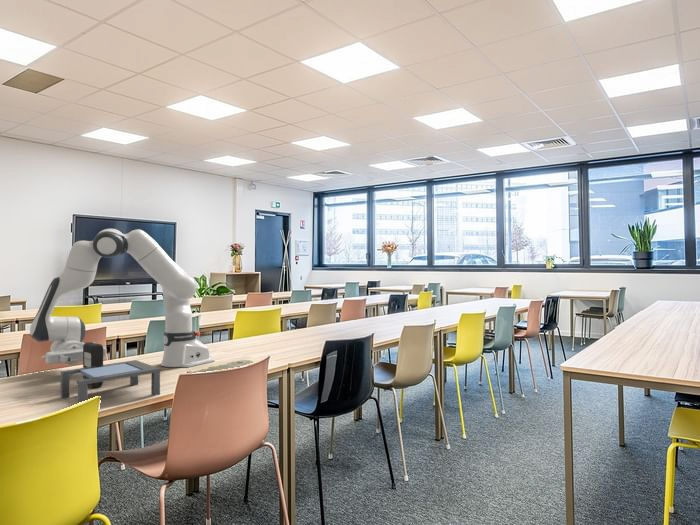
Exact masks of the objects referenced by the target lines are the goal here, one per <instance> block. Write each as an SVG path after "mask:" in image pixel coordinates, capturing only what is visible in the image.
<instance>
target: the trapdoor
mask: <svg viewBox="0 0 700 525" xmlns="http://www.w3.org/2000/svg"><path fill="white" fill-rule="evenodd" d="M138 370H140V369H138V368H135V367H133V366H130V365H128V364H118V365H111V366H104V367H98V368H91V369H84V370H81V373H80V375H82V376H83V375H85V376H87V377H89V378H95V377H101V376H107V375H113V374H119V373H126V372H132V371H138Z"/></svg>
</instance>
